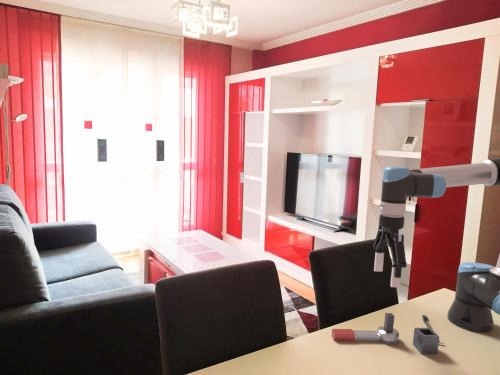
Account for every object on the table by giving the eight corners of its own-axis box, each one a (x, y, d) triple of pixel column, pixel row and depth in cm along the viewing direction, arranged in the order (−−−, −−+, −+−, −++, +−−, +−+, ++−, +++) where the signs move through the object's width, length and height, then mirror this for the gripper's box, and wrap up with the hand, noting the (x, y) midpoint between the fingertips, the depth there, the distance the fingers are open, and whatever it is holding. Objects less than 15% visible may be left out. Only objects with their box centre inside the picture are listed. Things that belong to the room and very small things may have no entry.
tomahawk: (452, 351, 124) (453, 348, 124) (431, 345, 126) (432, 342, 126) (438, 321, 144) (439, 318, 144) (420, 316, 146) (420, 314, 146)
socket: (428, 344, 125) (430, 328, 124) (437, 354, 120) (439, 336, 119) (412, 344, 125) (414, 327, 124) (420, 353, 120) (423, 336, 119)
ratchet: (392, 333, 131) (395, 310, 130) (401, 344, 124) (404, 319, 123) (329, 332, 130) (331, 308, 129) (335, 343, 123) (337, 318, 122)
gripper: (366, 207, 132) (361, 265, 134) (397, 223, 107) (391, 294, 110) (387, 207, 132) (382, 265, 135) (423, 224, 107) (415, 294, 110)
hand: (386, 278), depth 122 cm, fingers open, 13 cm apart
